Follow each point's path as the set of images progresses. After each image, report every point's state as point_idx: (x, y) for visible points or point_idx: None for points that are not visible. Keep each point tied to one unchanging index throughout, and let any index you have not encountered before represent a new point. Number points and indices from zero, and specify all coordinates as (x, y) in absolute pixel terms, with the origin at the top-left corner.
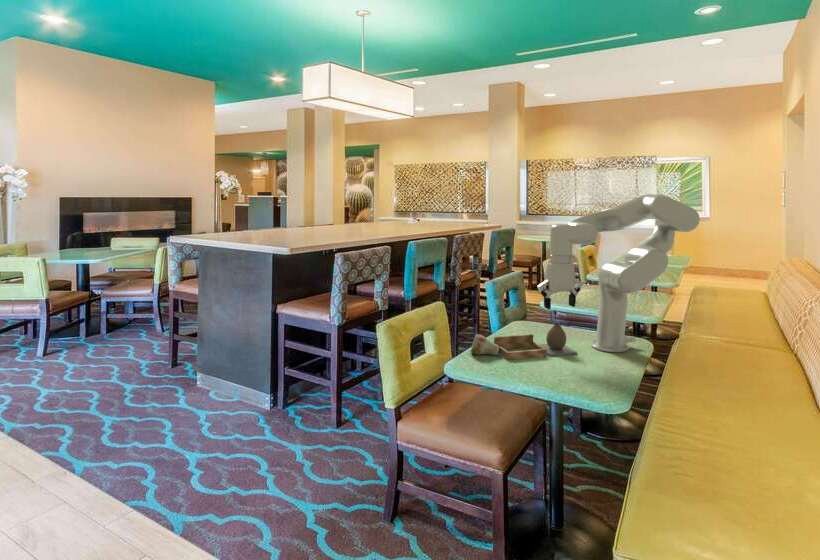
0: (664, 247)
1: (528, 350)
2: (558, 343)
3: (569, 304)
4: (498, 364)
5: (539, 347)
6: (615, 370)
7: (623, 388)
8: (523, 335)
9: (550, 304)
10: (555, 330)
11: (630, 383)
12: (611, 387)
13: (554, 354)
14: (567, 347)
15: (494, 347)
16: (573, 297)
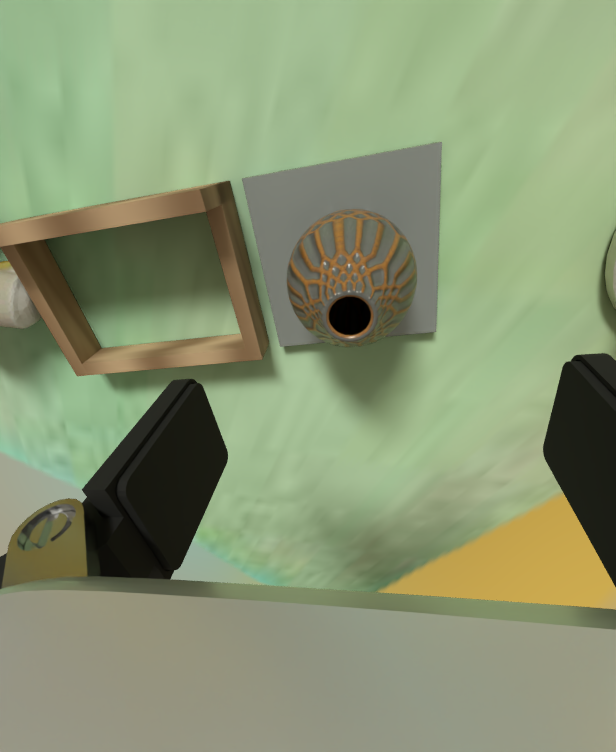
0: None
1: (172, 358)
2: (339, 329)
3: (564, 386)
4: (69, 397)
5: (236, 315)
6: (460, 493)
7: (387, 572)
8: (134, 221)
9: (208, 498)
10: (323, 335)
11: (428, 559)
12: (361, 565)
13: (307, 343)
14: (428, 251)
15: (6, 326)
16: (614, 581)
